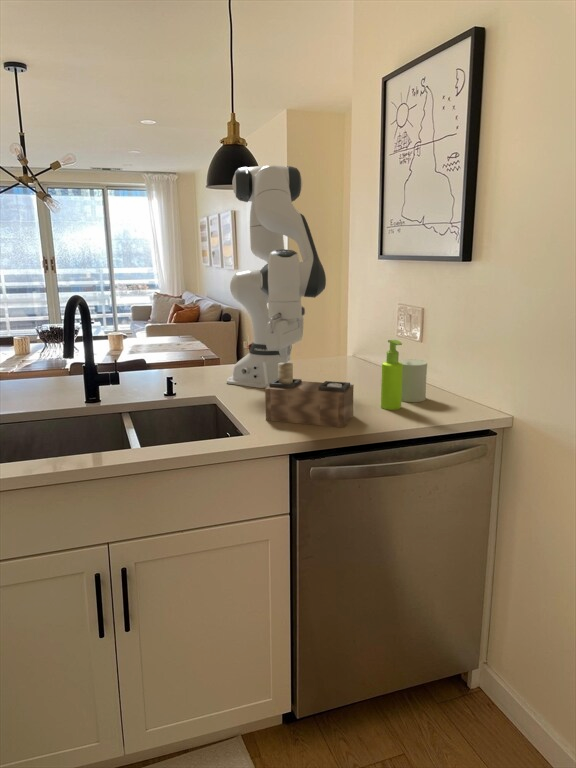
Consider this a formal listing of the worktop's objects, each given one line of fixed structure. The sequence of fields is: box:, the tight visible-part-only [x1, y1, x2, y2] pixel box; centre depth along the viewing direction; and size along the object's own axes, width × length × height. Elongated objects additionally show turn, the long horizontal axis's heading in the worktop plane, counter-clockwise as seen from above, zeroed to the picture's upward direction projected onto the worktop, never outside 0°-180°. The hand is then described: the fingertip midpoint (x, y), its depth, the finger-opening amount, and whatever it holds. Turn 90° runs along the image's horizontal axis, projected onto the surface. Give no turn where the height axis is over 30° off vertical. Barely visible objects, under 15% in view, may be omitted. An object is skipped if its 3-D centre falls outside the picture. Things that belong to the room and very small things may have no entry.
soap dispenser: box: [380, 339, 403, 411], centre depth 163 cm, size 6×7×20 cm
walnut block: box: [264, 378, 354, 428], centre depth 155 cm, size 22×11×10 cm, turn 71°
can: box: [398, 358, 428, 403], centre depth 174 cm, size 9×9×12 cm
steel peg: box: [327, 383, 342, 387], centre depth 152 cm, size 4×4×8 cm
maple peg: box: [278, 361, 294, 384], centre depth 156 cm, size 4×4×8 cm
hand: (285, 361), depth 155 cm, fingers closed
